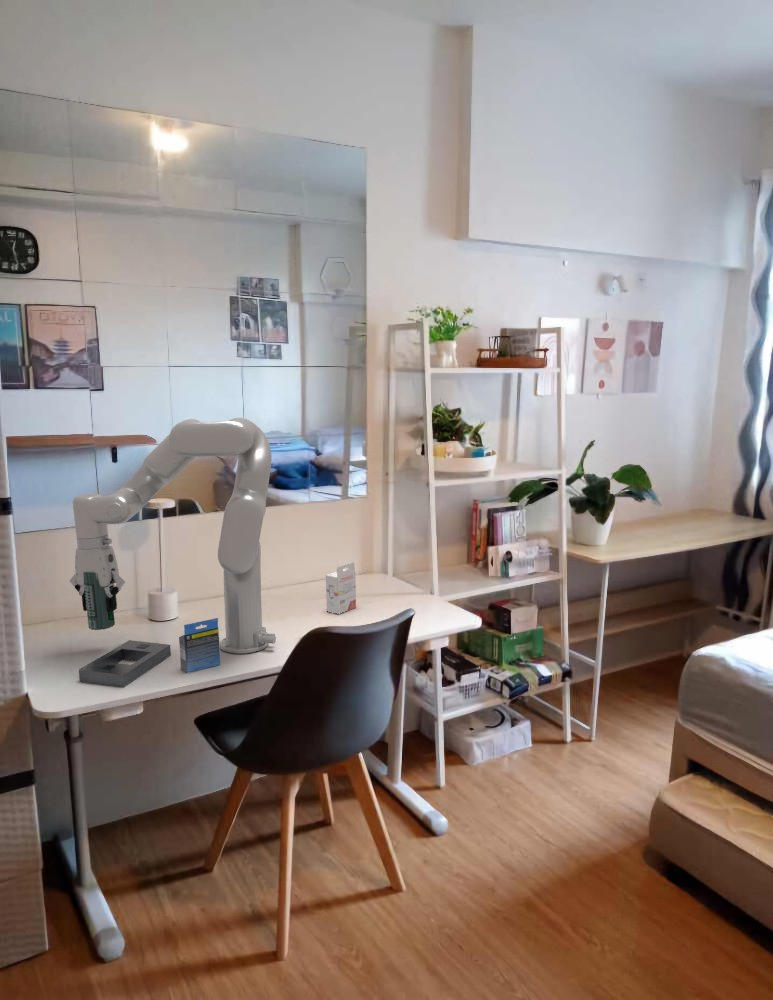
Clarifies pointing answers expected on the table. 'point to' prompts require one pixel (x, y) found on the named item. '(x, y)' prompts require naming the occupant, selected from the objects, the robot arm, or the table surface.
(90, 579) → the can
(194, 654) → the label tape cartridge
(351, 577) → the ink cartridge box
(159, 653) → the rail plate
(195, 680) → the table surface
